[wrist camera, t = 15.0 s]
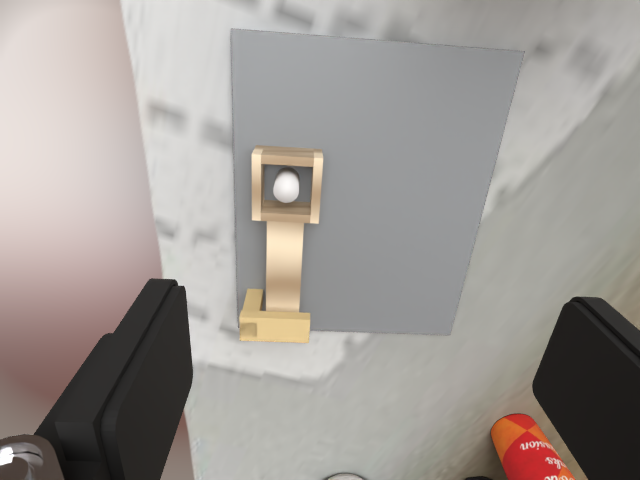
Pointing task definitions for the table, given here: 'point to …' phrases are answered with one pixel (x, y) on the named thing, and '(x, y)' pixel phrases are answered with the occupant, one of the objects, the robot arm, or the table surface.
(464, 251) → the slate base
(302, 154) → the wooden link
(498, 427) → the paper cup
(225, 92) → the table surface
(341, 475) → the can
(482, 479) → the portable speaker
